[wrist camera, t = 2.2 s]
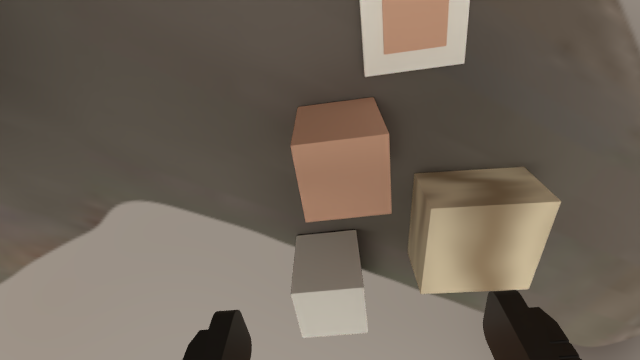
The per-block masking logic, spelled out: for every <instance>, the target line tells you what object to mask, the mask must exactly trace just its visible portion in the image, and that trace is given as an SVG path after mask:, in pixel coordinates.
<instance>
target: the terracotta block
mask: <svg viewBox="0 0 640 360" xmlns="http://www.w3.org/2000/svg"><path fill="white" fill-rule="evenodd" d="M291 151H292V156H293V161H294V166H295V171H296V176H297V181H298V186H299V191H300V196H301V201H302V206H303V211H304V216H305V221H306V222H315V221H325V220H335V219H344V218H354V217H364V216H373V215H383V214H392V212H391V178H390V144H389V132H388V130H387V128H386V125H385V123H384V121H383V118H382V116H381V114H380V111H379V109H378V107H377V104H376V102H375V100H374V97H370V98H362V99H355V100H347V101H339V102H332V103H324V104H316V105H309V106H301V107H298V109H297V114H296V119H295V125H294V130H293V135H292V140H291Z"/></svg>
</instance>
